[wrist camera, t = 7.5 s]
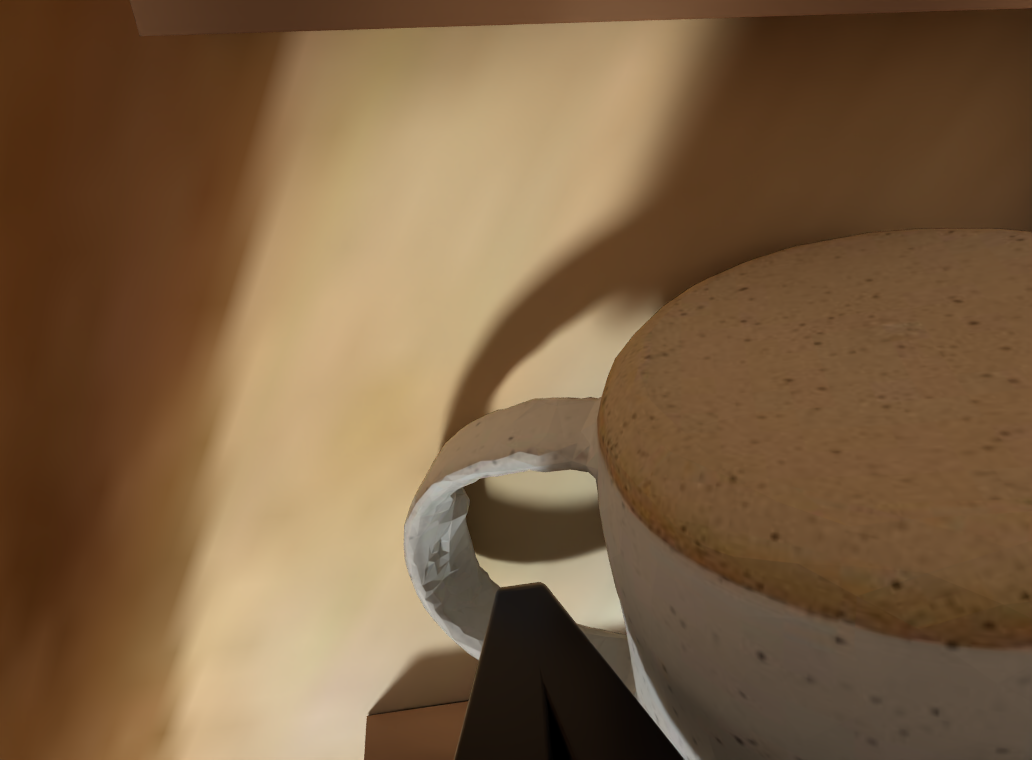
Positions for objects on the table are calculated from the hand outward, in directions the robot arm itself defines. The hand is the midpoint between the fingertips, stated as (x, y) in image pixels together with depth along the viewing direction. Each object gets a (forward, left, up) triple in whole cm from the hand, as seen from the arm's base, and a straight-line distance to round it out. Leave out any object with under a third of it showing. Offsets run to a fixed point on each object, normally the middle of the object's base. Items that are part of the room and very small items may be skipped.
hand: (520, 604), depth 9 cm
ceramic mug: (+4, 0, -3) cm, 5 cm away
